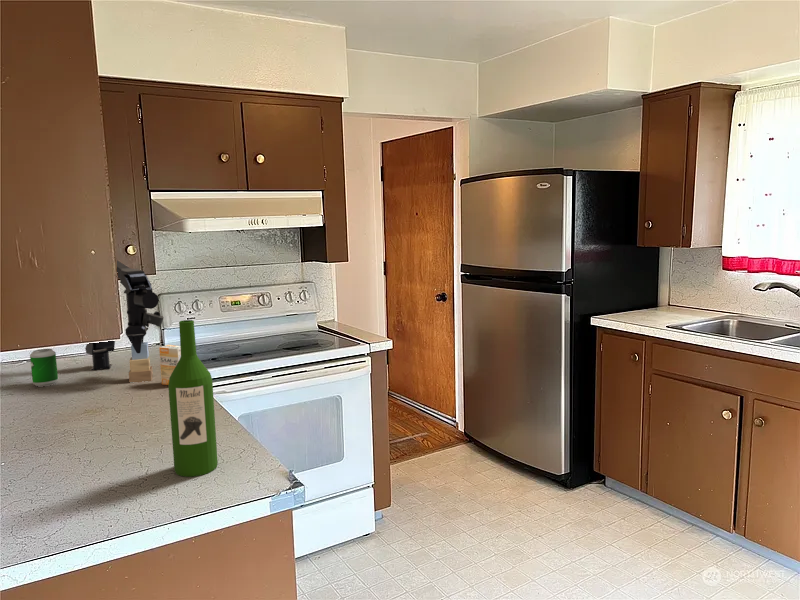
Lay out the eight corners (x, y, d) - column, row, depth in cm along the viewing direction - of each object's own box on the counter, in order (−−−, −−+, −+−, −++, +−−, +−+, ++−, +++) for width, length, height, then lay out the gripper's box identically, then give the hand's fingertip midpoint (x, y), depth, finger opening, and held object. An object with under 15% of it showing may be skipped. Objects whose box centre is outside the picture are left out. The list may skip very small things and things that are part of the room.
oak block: (131, 368, 207) (130, 357, 206) (150, 366, 209) (149, 355, 208) (130, 372, 201) (129, 360, 201) (149, 370, 203) (148, 359, 203)
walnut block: (131, 379, 208) (130, 368, 207) (152, 377, 210) (152, 366, 209) (129, 383, 201) (128, 372, 201) (151, 381, 203) (150, 370, 203)
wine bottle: (175, 480, 121) (164, 326, 117) (173, 464, 130) (163, 320, 126) (220, 472, 125) (210, 322, 121) (215, 457, 133) (206, 316, 129)
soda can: (63, 381, 205) (60, 348, 204) (48, 387, 198) (45, 352, 196) (43, 381, 206) (40, 348, 204) (27, 387, 198) (24, 352, 197)
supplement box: (160, 385, 198) (158, 347, 196) (171, 381, 202) (168, 344, 201) (179, 386, 195) (177, 348, 193) (190, 383, 199) (187, 345, 198)
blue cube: (133, 357, 206) (132, 343, 206) (148, 355, 208) (147, 342, 208) (132, 360, 202) (131, 345, 201) (147, 358, 203) (146, 344, 203)
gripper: (160, 308, 196) (163, 354, 198) (162, 302, 214) (165, 344, 216) (123, 310, 193) (127, 357, 195) (128, 304, 210) (132, 346, 212)
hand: (139, 350), depth 204 cm, fingers open, 8 cm apart
